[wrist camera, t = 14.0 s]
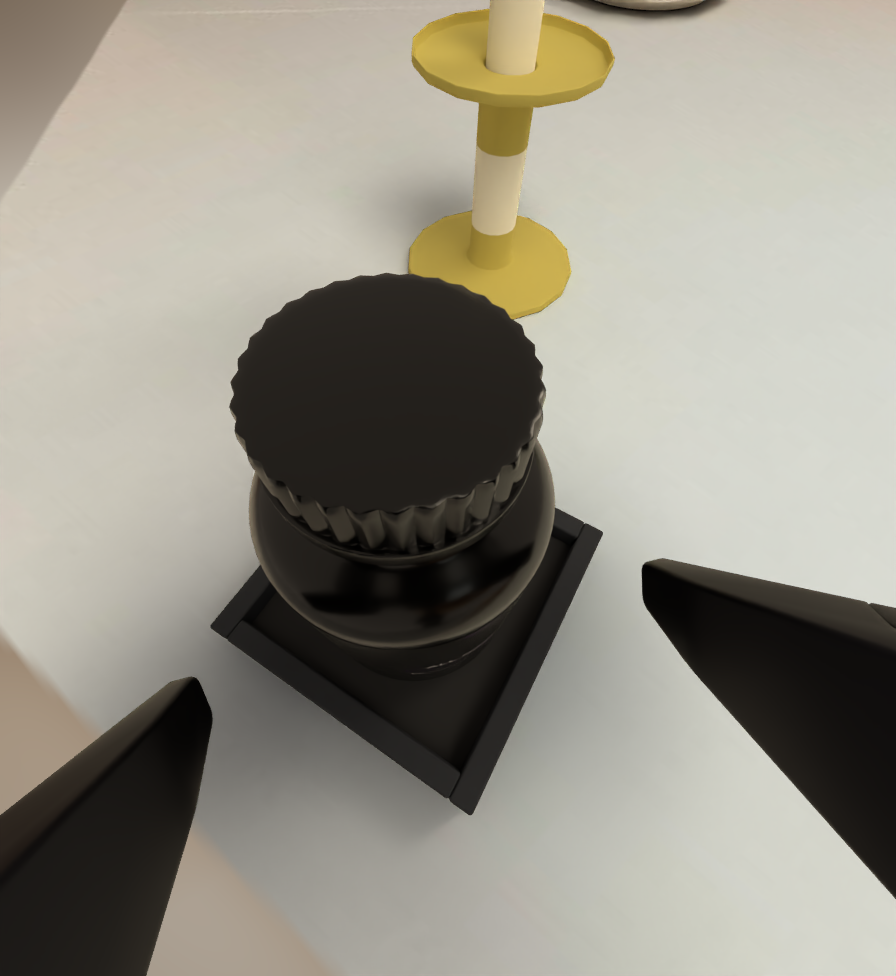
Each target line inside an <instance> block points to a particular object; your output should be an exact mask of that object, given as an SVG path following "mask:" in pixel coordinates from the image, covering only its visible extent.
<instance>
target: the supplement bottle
mask: <svg viewBox="0 0 896 976" xmlns="http://www.w3.org/2000/svg"><path fill="white" fill-rule="evenodd" d="M542 374H543V366H542V364H541V363H540V361H539V360H538V359H537V357H536V356H535V345H534V344H533V343H532V342H531V341H530V340H529V339H528V338H527V337H526V336H525V335H524V331H523V328H522V326H521V325H520V324H519V323H517V322H515V321H514V320H512V319H511V318H510V317H509V315H508V313H507V312H506V310H505V309H503V308H501V307H499V306H497V305H494V304H492V303H491V302H490V300H489V299H488V298H487V297H486V296H485V295H481V294H477V293H474V292H471V291H470V290H469V289H467V288H466V287H465V286H463V285H459V284H452V283H448V282H446V281H444V280H442V279H440V278H433V277H422V276H419V275H416V274H405V275H396V274H390V273H384V274H380V275H376V276H358V277H355V278H353V279H350V280H345V281H334V282H333V283H331V284H329V285H327V286H326V287H324V288H320V289H315V290H311V291H309V292H307V293H306V294H305V295H304V296H303V297H302V298H300V299H297V300H294V301H291V302H288V303H286V305H285V306H284V307H283V308H282V310H281V311H280V312H278V313H277V314H275V315H272V316H271V317H269V318H267V319H266V321H265V323H264V325H263V327H262V329H261V330H260V331H258V332H257V333H255V334H254V335H253V336H252V337H250V340H249V344H248V349H247V350H246V351H245V352H244V353H243V354H242V355H241V356H240V357H239V358H238V371H237V373H236V375H235V376H234V377H233V379H232V381H231V386H232V389H233V392H234V396H233V398H232V400H231V403H230V406H229V408H230V411H231V414H232V416H233V417H234V419H235V421H236V423H235V434H236V437H237V439H238V441H239V443H240V444H241V446H242V447H243V449H244V450H245V452H246V453H247V456H248V460H249V462H250V464H251V466H252V467H253V469H254V470H255V473H254V476H253V480H252V486H251V491H250V500H249V524H250V531H251V537H252V541H253V544H254V548H255V552H256V555H257V557H258V559H259V562H260V564H261V567H262V569H263V570H264V572H265V574H266V576H267V578H268V579H269V581H270V582H271V584H272V585H273V586H274V588H275V589H276V590H277V592H278V593H279V594H280V596H281V597H282V598H283V599H284V600H285V601H286V602H287V603H288V604H289V606H290V607H291V608H292V609H293V610H294V611H295V612H297V613H298V614H299V615H300V616H301V617H302V618H304V619H305V620H306V621H307V622H308V623H309V624H311V625H312V626H313V627H314V628H316V629H317V630H318V631H319V632H320V633H322V634H323V635H324V636H325V637H327V638H328V639H329V640H330V641H332V642H333V643H334V644H335V645H337V646H338V647H339V648H340V649H341V650H343V651H344V652H345V653H346V654H348V655H349V656H350V657H351V658H353V659H354V660H355V661H357V662H358V663H360V664H361V665H363V666H364V667H366V668H367V669H369V670H371V671H373V672H375V673H377V674H380V675H382V676H385V677H389V678H392V679H397V680H404V681H423V680H430V679H434V678H438V677H442V676H445V675H447V674H450V673H452V672H454V671H456V670H458V669H460V668H461V667H463V666H465V665H466V664H468V663H469V662H470V661H472V660H473V659H474V658H475V657H476V656H477V655H478V654H479V653H480V652H481V651H482V650H483V649H484V648H485V647H486V646H487V644H488V643H489V642H490V641H491V640H492V638H493V637H494V635H495V634H496V632H497V631H498V629H499V628H500V626H501V625H502V623H503V622H504V620H505V619H506V617H507V616H508V615H509V613H510V612H511V610H512V609H513V607H514V606H515V604H516V603H517V601H518V600H519V598H520V597H521V595H522V594H523V592H524V591H525V589H526V588H527V586H528V585H529V583H530V582H531V580H532V579H533V577H534V575H535V573H536V572H537V570H538V568H539V566H540V564H541V562H542V559H543V557H544V554H545V552H546V549H547V547H548V544H549V541H550V537H551V533H552V529H553V523H554V514H555V495H554V485H553V479H552V474H551V471H550V468H549V464H548V461H547V458H546V456H545V453H544V451H543V449H542V447H541V445H540V443H539V441H538V439H537V437H538V434H539V431H540V428H541V425H542V422H543V411H542V407H543V404H544V401H545V397H546V389H545V386H544V384H543V382H542V380H541V379H542Z"/></svg>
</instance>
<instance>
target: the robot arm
mask: <svg viewBox="0 0 896 976" xmlns="http://www.w3.org/2000/svg"><path fill="white" fill-rule="evenodd" d="M642 596H643V601H644V604H645V606H646V608H647V610H648V611H649V612H650V614H651V615H652V617H653V618H654V619H655V621H656V622H657V623H658V625H659V626H660V628H661V629H662V630H663V632H664V633H665V634H666V636H667V637H668V638H669V640H670V641H671V643H672V644H673V645H674V647H675V648H676V649H677V651H678V652H679V654H680V655H681V656H682V658H683V659H684V660H685V662H686V663H687V664H688V665H689V667H690V668H691V669H692V670H693V672H694V673H695V674H696V675H697V676H698V677H699V679H700V680H701V681H702V682H703V683H704V684H705V685H706V686H707V688H708V689H709V690H710V691H711V692H712V693H713V694H714V695H715V697H716V698H717V699H718V700H719V701H720V702H721V703H722V704H723V706H724V707H725V708H726V709H727V710H728V711H729V712H730V713H731V715H732V716H733V717H734V718H735V719H736V720H737V721H738V722H739V723H740V725H741V726H742V727H743V728H744V729H745V730H746V731H747V732H748V734H749V735H750V736H751V737H752V738H753V739H754V740H755V741H756V743H757V744H758V745H759V746H760V747H761V748H762V749H763V750H764V752H765V753H766V754H767V755H768V756H769V757H770V758H771V759H772V761H773V762H774V763H775V764H776V765H777V766H778V767H779V768H780V770H781V771H782V772H783V773H784V774H785V775H786V776H787V777H788V779H789V780H790V781H791V782H792V783H793V784H794V785H795V786H796V788H797V789H798V790H799V791H800V792H801V793H802V794H803V795H804V797H805V798H806V799H807V800H808V801H809V802H810V803H811V804H812V805H813V807H814V808H815V809H816V810H817V811H818V812H819V813H820V814H821V816H822V817H823V818H824V819H825V820H826V821H827V822H828V823H829V825H830V826H831V827H832V828H833V829H834V830H835V831H836V832H837V834H838V835H839V836H840V837H841V838H842V839H843V840H844V841H845V843H846V844H847V845H848V846H849V847H850V848H851V849H852V850H853V852H854V853H855V854H856V855H857V856H858V857H859V858H860V859H861V861H862V862H863V863H864V864H865V865H866V866H867V867H868V868H869V870H870V871H871V872H872V873H873V874H874V875H875V876H876V877H877V878H878V880H879V881H880V882H881V883H882V884H883V885H884V886H885V887H886V889H887V890H888V891H889V892H890V893H891V894H892V895H893V896H894V898H895V899H896V608H893V607H888V606H884V605H879V604H874V603H870V604H868V603H867V602H864V601H860V600H855V599H851V598H846V597H841V596H837V595H832V594H827V593H823V592H818V591H813V590H809V589H804V588H799V587H795V586H790V585H785V584H781V583H776V582H771V581H767V580H762V579H757V578H753V577H748V576H743V575H739V574H734V573H729V572H725V571H720V570H715V569H711V568H706V567H701V566H697V565H692V564H687V563H683V562H678V561H673V560H669V559H663V558H662V559H656V560H653V561H649V562H646V563H644V564H643V566H642ZM212 722H213V717H212V711H211V708H210V706H209V703H208V701H207V698H206V696H205V694H204V691H203V689H202V686H201V684H200V682H199V680H198V679H197V678H195V677H187V678H183V679H179V680H175V681H172V682H170V683H168V684H167V685H165V686H164V687H163V688H162V689H160V690H159V691H158V692H157V693H155V694H154V695H153V696H151V697H150V698H149V699H148V700H146V701H145V702H144V703H143V704H141V705H140V706H139V707H137V708H136V709H135V710H134V711H132V712H131V713H130V714H129V715H127V716H126V717H125V718H123V719H122V720H121V721H120V722H118V723H117V724H116V725H115V726H113V727H112V728H111V729H109V730H108V731H107V732H106V733H104V734H103V735H102V736H101V737H99V738H98V739H97V740H95V741H94V742H93V743H92V744H90V745H89V746H88V747H87V748H85V749H84V750H83V751H81V752H80V753H79V754H78V755H76V756H75V757H74V758H73V759H71V760H70V761H69V762H67V763H66V764H65V765H64V766H62V767H61V768H60V769H59V770H57V771H56V772H55V773H53V774H52V775H51V776H50V777H48V778H47V779H46V780H45V781H43V782H42V783H41V784H39V785H38V786H37V787H36V788H34V789H33V790H32V791H31V792H29V793H28V794H27V795H25V796H24V797H23V798H22V799H20V800H19V801H18V802H17V803H15V804H14V805H13V806H11V807H10V808H9V809H8V810H6V811H5V812H4V813H3V814H1V815H0V976H146V975H147V971H148V968H149V965H150V961H151V958H152V955H153V951H154V948H155V945H156V941H157V937H158V934H159V931H160V928H161V924H162V921H163V918H164V914H165V911H166V908H167V904H168V901H169V898H170V894H171V891H172V888H173V884H174V881H175V878H176V874H177V871H178V868H179V864H180V861H181V858H182V854H183V851H184V848H185V844H186V841H187V837H188V834H189V831H190V828H191V824H192V820H193V817H194V813H195V809H196V805H197V800H198V796H199V791H200V786H201V780H202V775H203V770H204V765H205V760H206V755H207V749H208V744H209V739H210V734H211V729H212Z"/></svg>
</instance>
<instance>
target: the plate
mask: <svg viewBox="0 0 896 976" xmlns="http://www.w3.org/2000/svg"><path fill="white" fill-rule="evenodd" d="M595 1H598V2H602V3H605V4H609V5H613V6H618V7H624V8H630V9H641V10H673V9H680V8H687V7H690V6H693V5H697V4H700V3H701V2H703V1H704V0H595Z"/></svg>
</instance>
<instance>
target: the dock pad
mask: <svg viewBox="0 0 896 976" xmlns="http://www.w3.org/2000/svg"><path fill="white" fill-rule="evenodd" d="M602 535H603V532H602V531H600V530H598V529H596V528H594V527H592V526H590V525H588V524H584V522H582V521H581V520H579V519H577V518H575V517H573V516H571V515H569V514H567V513H565V512H563V511H561V510H559V509H557V508H555V514H554V523H553V529H552V533H551V537H550V541H549V544H548V547H547V549H546V552H545V554H544V557H543V559H542V562H541V564H540V566H539V568H538V570H537V572H536V573H535V575H534V577H533V579H532V580H531V582H530V583H529V585H528V586H527V588H526V589H525V591H524V592H523V594H522V595H521V597H520V598H519V600H518V601H517V603H516V604H515V606H514V607H513V609H512V610H511V612H510V613H509V615H508V616H507V617H506V619H505V620H504V622H503V623H502V625H501V626H500V628H499V629H498V631H497V632H496V634H495V635H494V637H493V638H492V640H491V641H490V642H489V643H488V644H487V646H486V647H485V648H484V649H483V650H482V651H481V652H480V653H479V654H478V655H477V656H476V657H475V658H474V659H473V660H472V661H470V662H469V663H468V664H466V665H465V666H463V667H461V668H460V669H458V670H456V671H454V672H452V673H450V674H447V675H445V676H442V677H438V678H434V679H430V680H423V681H404V680H397V679H392V678H389V677H385V676H382V675H380V674H377V673H375V672H373V671H371V670H369V669H367V668H366V667H364V666H363V665H361V664H360V663H358V662H357V661H355V660H354V659H353V658H351V657H350V656H349V655H348V654H346V653H345V652H344V651H343V650H341V649H340V648H339V647H338V646H337V645H335V644H334V643H333V642H332V641H330V640H329V639H328V638H327V637H325V636H324V635H323V634H322V633H320V632H319V631H318V630H317V629H316V628H314V627H313V626H312V625H311V624H309V623H308V622H307V621H306V620H305V619H304V618H302V617H301V616H300V615H299V614H298V613H297V612H295V611H294V610H293V609H292V608H291V607H290V606H289V604H288V603H287V602H286V601H285V600H284V599H283V598H282V597H281V596H280V594H279V593H278V592H277V590H276V589H275V588H274V586H273V585H272V584H271V582H270V581H269V579H268V578H267V576H266V574H265V572H264V570H263V569H262V567H261V565H260V566H259V567H258V569H257V570H256V571H255V572H254V573H253V575H252V576H251V577H250V578H249V579H248V581H247V582H246V583H245V584H244V586H243V587H242V588H241V589H240V590H239V592H238V593H237V594H236V595H235V596H234V598H233V599H232V600H231V601H230V602H229V604H228V605H227V606H226V607H225V608H224V610H223V611H222V612H221V613H220V615H219V616H218V617H217V618H216V619H215V621H214V622H213V623H212V624H211V626H210V627H211V629H213V630H214V631H215V632H217V633H218V634H220V635H221V636H222V637H224V638H226V639H228V641H229V642H231V643H232V644H233V645H235V646H236V647H238V648H239V649H240V650H242V651H243V652H244V653H246V654H247V655H249V656H250V657H251V658H253V659H254V660H256V661H257V662H258V663H260V664H261V665H262V666H264V667H265V668H267V669H268V670H269V671H271V672H272V673H273V674H275V675H276V676H278V677H279V678H280V679H282V680H283V681H285V682H286V683H287V684H289V685H290V686H291V687H293V688H294V689H296V690H297V691H298V692H300V693H301V694H302V695H304V696H305V697H307V698H308V699H309V700H311V701H312V702H314V703H315V704H316V705H318V706H319V707H320V708H322V709H323V710H325V711H326V712H327V713H329V714H330V715H331V716H333V717H334V718H336V719H337V720H338V721H340V722H341V723H343V724H344V725H345V726H347V727H348V728H349V729H351V730H352V731H354V732H355V733H356V734H358V735H359V736H360V737H362V738H363V739H365V740H366V741H367V742H369V743H370V744H372V745H373V746H374V747H376V748H377V749H378V750H380V751H381V752H383V753H384V754H385V755H387V756H388V757H389V758H391V759H392V760H394V761H395V762H396V763H398V764H399V765H401V766H402V767H403V768H405V769H406V770H407V771H409V772H410V773H412V774H413V775H414V776H416V777H417V778H418V779H420V780H421V781H423V782H424V783H425V784H427V785H428V786H430V787H431V788H432V789H434V790H435V791H436V792H438V793H439V794H441V795H442V796H443V797H445V798H449V800H450V801H451V802H452V803H453V804H454V805H456V806H457V807H458V808H460V809H461V810H463V811H464V812H465V813H467V814H468V815H472V814H473V812H474V810H475V808H476V806H477V804H478V801H479V799H480V797H481V795H482V793H483V791H484V789H485V786H486V784H487V782H488V780H489V778H490V776H491V774H492V771H493V769H494V767H495V765H496V763H497V761H498V758H499V756H500V754H501V752H502V750H503V748H504V746H505V743H506V741H507V739H508V737H509V735H510V733H511V730H512V728H513V726H514V724H515V722H516V720H517V718H518V715H519V713H520V711H521V709H522V707H523V705H524V703H525V700H526V698H527V696H528V694H529V692H530V690H531V687H532V685H533V683H534V681H535V679H536V677H537V675H538V672H539V670H540V668H541V666H542V664H543V662H544V660H545V657H546V655H547V653H548V651H549V649H550V647H551V644H552V642H553V640H554V638H555V636H556V634H557V632H558V629H559V627H560V625H561V623H562V621H563V619H564V617H565V614H566V612H567V610H568V608H569V606H570V604H571V601H572V599H573V597H574V595H575V593H576V591H577V589H578V586H579V584H580V582H581V580H582V578H583V576H584V574H585V571H586V569H587V567H588V565H589V563H590V561H591V558H592V556H593V554H594V552H595V550H596V548H597V546H598V543H599V541H600V539H601V537H602Z"/></svg>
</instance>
